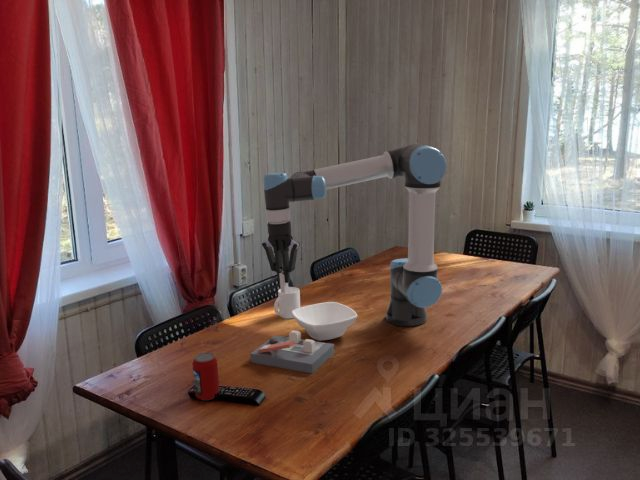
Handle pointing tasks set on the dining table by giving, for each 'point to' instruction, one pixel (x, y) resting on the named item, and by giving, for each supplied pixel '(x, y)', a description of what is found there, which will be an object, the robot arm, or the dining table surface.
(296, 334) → the slider
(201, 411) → the dining table surface
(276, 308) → the mug
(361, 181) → the robot arm
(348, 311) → the bowl
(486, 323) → the dining table surface
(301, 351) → the panel
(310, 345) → the slider
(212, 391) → the beverage can
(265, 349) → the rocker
